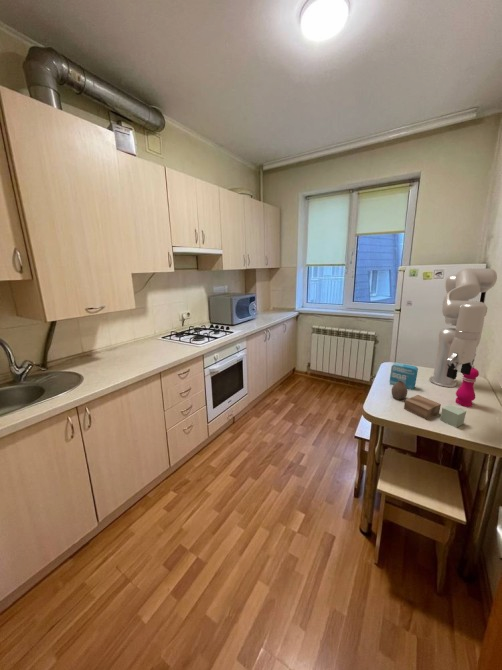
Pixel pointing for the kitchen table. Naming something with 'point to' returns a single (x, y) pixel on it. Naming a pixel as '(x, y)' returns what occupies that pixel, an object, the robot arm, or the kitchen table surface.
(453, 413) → the green cube
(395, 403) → the kitchen table surface
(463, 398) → the pepper mill
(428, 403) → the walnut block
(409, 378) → the data package
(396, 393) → the vase
